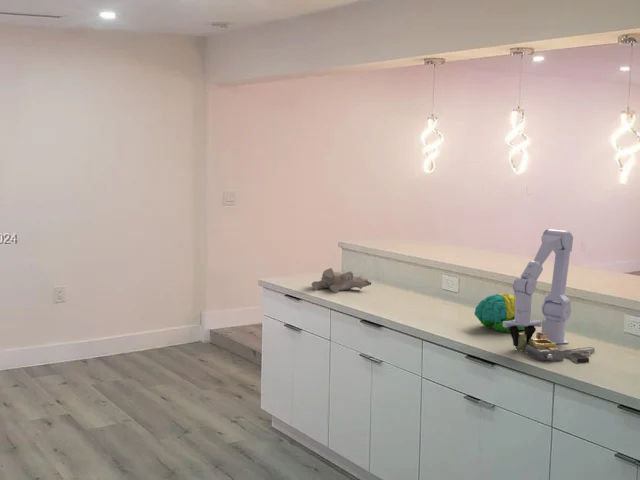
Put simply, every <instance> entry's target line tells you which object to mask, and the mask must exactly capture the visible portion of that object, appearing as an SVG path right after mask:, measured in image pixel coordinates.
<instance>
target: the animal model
mask: <svg viewBox="0 0 640 480" xmlns="http://www.w3.org/2000/svg"><path fill="white" fill-rule="evenodd" d="M321 275H322V276H321V278H320V280H318V281H317V280H316V281H313V282H312V283H311V287H312V288H313V289H314V290H316V291H317V290H318V289H320V288H322V289H329V290H330V291H332V292H333V293H334V294H337V293H338V292H339V293H340V291H341V292H342V291H348V290H352V289H353V288H357V289H360V290H362V289H363V288H365V287H367V286H370V285H372V282H371V281H370V280H369V279H368V278H365V277H364V275H360V276H359V275H358V276H357V275H354V273H353V272H352V271H351V270H350V271H347V272H343V273H342V272H336V271H334V270H333V268H328V269H325V270H324V271H323V273H322V274H321Z"/></svg>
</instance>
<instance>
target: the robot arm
mask: <svg viewBox="0 0 640 480" xmlns="http://www.w3.org/2000/svg"><path fill="white" fill-rule="evenodd" d="M540 238H541V240H540V241H541V244H540V246H539V249H538V251H537V252H536V254H535V257H534V259H533V260H532V261H529V262H528V263H527V265H526V267H525V268H524V270H523V272H522V274H521V275H520V277H518V278H516V279H515V280H514V281H513V284H512V290H513V293H514V295H513V296H515V297H516V299H515V319H514V320H512V321H503V327H508V328H509V330H510V332H509V333H510V335H511V338H512V339H511V340H512V345H513V346H514V347H516V346H518V335H519V333H520V331H521V330H519V329H518V328H517V327H524V334H526V335H527V341H526V343H529V339H532V337H533V336H534V334H535V332H536V330H537V328H536V327H538V328H541V332H545V333H546V334H547V339H549V340H550V341H552V342H554V343H556V345H558V344H562V345H563V344H570V343H569V341H567V340H565V334H566V321H568V319H569V318H570V316H571V314H572V308H571V302H572V301H571V300H570V299H569V298H568V297H567V295H566V288H567V280H568V279H567V278H568V272H569V264H570V256H571V252H572V251H573V241H574V235H573V234H572V232H570V231H569V230H561V229H559V230H558V229H551V228H545V230H544V231H543V233H542V235H541V237H540ZM552 252H554V253H555V256H554V262H553V263H554V265H553V273H552V280H551V281H552V282H551V288H550V293H549V294H548V295H546V296H545V297H544V299H543V300H544V301H543V304H542V305H541V312H542V315H543V316H544V319H543V320H542V321H541V320H531V314H532V297H533V294H534V293H535V291H536V289H537V288H536V287H537V283H538V279H539V277H540V275H541V274H542V272H543V270H544V267H543V264H544V263H546V260H547V259H548V258H549V256H550V254H551V253H552Z"/></svg>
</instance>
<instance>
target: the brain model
mask: <svg viewBox="0 0 640 480" xmlns="http://www.w3.org/2000/svg"><path fill="white" fill-rule="evenodd" d="M515 299H516V297H515V295H513V294H509V293H497V294H491V295H489V296H487V297H485V298H483V300H480V302H478V305H476V307H475V310H474V316H475V317H476V318H477V319H478V320H479V322H480V324H481V325H482V326H484V327H486V328H490V329H491V328H493V329H495V331H497V332H499V333H500V332H501V333H510V330H509V328H508V327H503V321H512V320H514V319H515ZM517 328H518V329H519V330H520V331H522V330H524V327H517ZM524 331H525V330H524Z"/></svg>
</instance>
